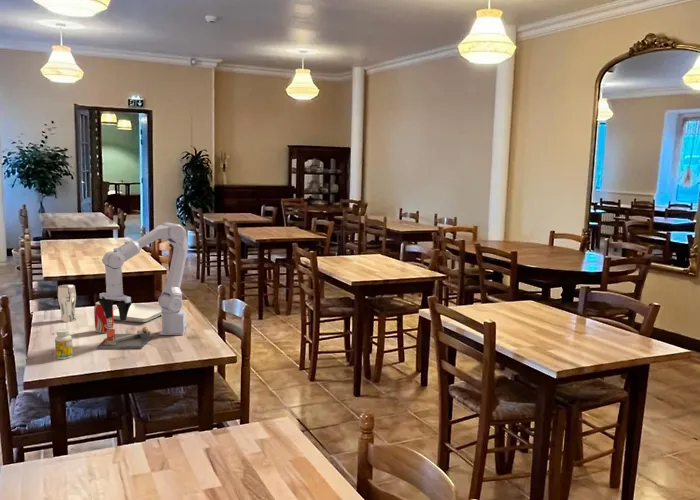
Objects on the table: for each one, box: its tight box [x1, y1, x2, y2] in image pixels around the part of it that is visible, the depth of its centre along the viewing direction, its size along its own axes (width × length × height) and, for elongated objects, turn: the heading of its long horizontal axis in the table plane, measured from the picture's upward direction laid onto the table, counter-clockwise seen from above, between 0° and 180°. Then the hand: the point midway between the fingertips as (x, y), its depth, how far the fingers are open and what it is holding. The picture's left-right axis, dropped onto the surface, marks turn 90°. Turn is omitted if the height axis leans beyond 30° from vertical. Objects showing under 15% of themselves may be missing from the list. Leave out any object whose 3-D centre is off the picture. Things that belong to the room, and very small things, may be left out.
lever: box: [106, 328, 152, 343], centre depth 233 cm, size 17×3×5 cm, turn 140°
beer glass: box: [57, 284, 77, 323], centre depth 261 cm, size 7×7×15 cm
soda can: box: [93, 301, 115, 334], centre depth 245 cm, size 7×7×12 cm
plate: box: [96, 326, 154, 350], centre depth 232 cm, size 16×16×5 cm
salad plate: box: [113, 302, 162, 323], centre depth 269 cm, size 21×21×3 cm
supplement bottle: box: [54, 328, 74, 360], centre depth 214 cm, size 5×5×10 cm
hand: (116, 319), depth 230 cm, fingers open, 7 cm apart
